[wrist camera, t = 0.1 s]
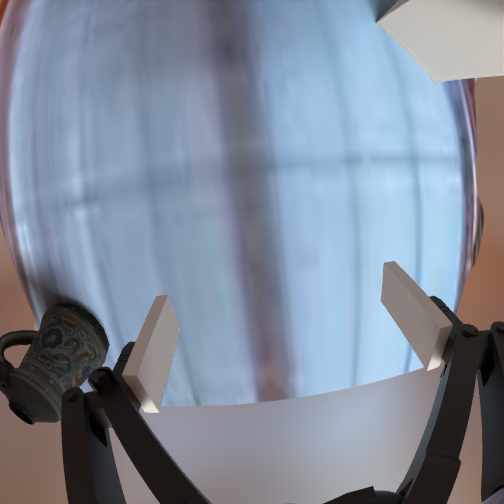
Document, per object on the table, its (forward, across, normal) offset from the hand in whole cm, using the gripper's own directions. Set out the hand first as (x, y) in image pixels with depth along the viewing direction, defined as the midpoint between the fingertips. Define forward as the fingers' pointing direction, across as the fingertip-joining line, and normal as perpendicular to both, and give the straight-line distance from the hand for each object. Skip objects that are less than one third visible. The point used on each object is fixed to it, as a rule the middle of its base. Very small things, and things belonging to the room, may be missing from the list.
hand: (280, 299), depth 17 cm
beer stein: (+28, -43, -21) cm, 56 cm away
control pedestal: (+28, +33, +27) cm, 51 cm away
